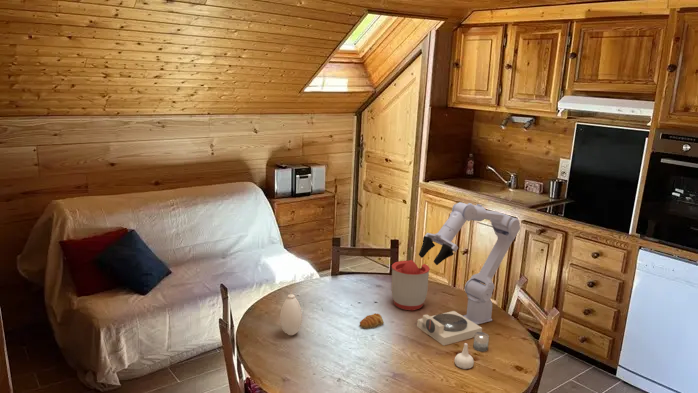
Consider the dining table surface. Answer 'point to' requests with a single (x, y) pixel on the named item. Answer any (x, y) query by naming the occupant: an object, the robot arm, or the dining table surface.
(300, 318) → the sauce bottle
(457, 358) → the garlic bulb
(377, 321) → the pastry
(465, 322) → the pan
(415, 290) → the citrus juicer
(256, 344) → the dining table surface
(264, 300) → the dining table surface
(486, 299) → the robot arm
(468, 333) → the base
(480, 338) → the cylinder
